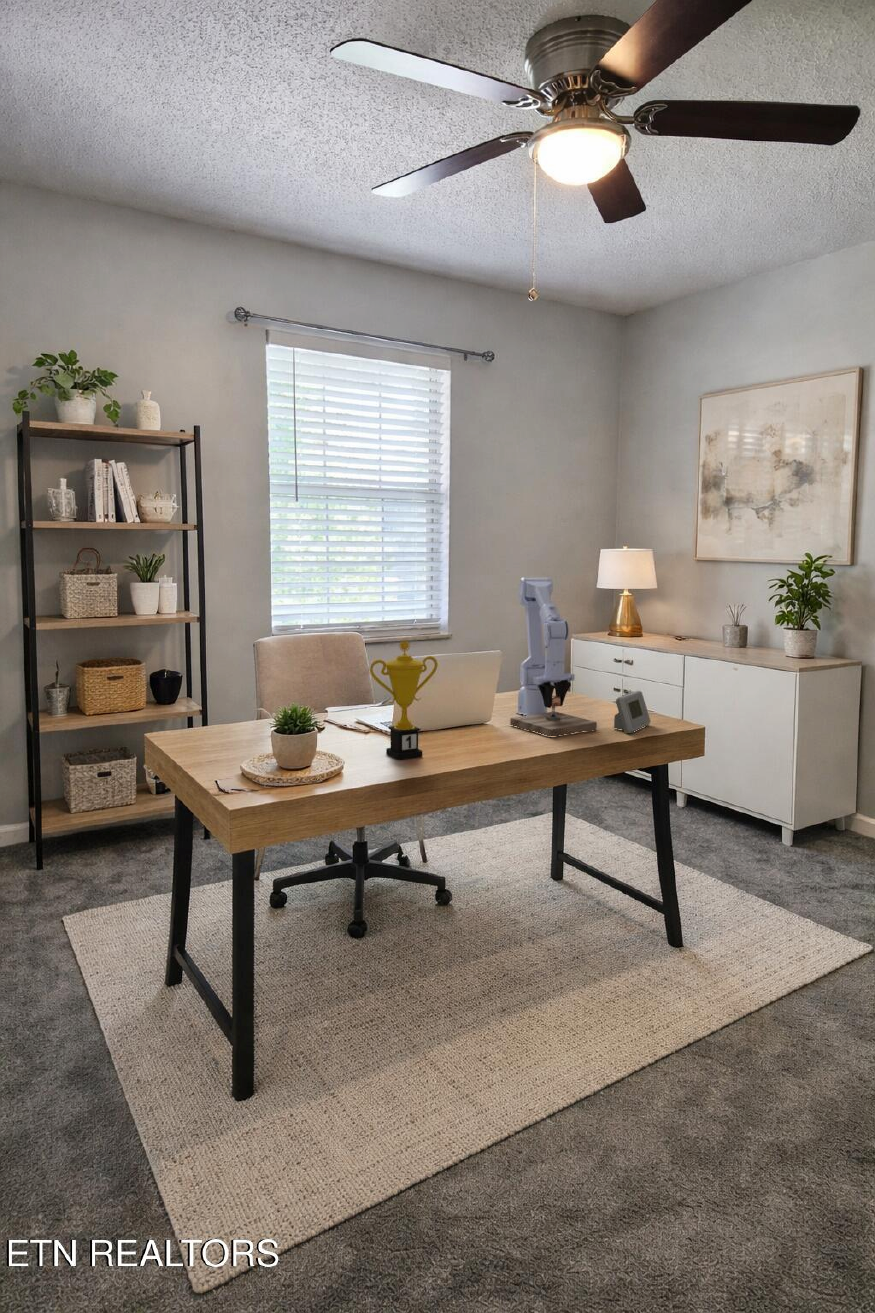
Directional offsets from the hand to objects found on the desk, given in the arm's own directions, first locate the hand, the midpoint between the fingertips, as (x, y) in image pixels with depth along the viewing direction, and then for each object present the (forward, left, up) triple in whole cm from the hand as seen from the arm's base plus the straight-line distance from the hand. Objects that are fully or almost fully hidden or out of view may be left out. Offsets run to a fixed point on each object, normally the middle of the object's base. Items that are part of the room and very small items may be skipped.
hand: (553, 706), depth 239 cm
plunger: (0, 0, -3) cm, 3 cm away
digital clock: (+13, +20, -7) cm, 25 cm away
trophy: (+3, -54, -7) cm, 55 cm away
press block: (0, 0, -7) cm, 7 cm away
